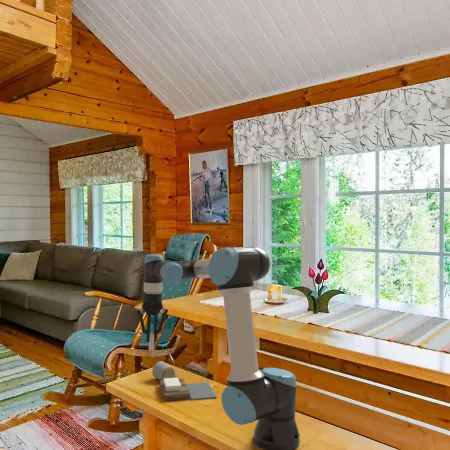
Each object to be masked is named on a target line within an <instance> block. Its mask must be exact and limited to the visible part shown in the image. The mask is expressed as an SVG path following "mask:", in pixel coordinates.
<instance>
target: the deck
mask: <svg viewBox="0 0 450 450" xmlns="http://www.w3.org/2000/svg"><path fill="white" fill-rule="evenodd" d="M178 380H179V382H180V384H181V390H178V391H166V389H165V386H164V383H163V380H159V389H160V391H161V393H162V397H163V400H164V402H173V401H183V400H184V401H186V400H191V398H190V392H189V390H188V388H187V386H186V384H187V383H186V382H185V380H184V378H178Z"/></svg>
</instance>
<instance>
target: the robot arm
mask: <svg viewBox="0 0 450 450" xmlns="http://www.w3.org/2000/svg"><path fill="white" fill-rule="evenodd" d="M270 269H271V260H270V257H269V255H268V253H267V252H266V251H264V250H263V249H262V248H259V247H256V246H228V247H223V248H221V247H220V248H219V249H217V250H215V251H214V252H213V253H212V256H211V257H210V258H202V259H195V260H191V259H190V260H177V261H176V260H175V261H165V260H164V256H163V255H162V254H160V253H159V254H157V253H155V254H154V253H152V254H151V253H149V254H146V255H145V256H144V262H143V292H144V293H143V294H142V295H143V298H142V299H143V300H142V304H141V307H139V308H137V309H136V310H135V311H136V313H137V314H138V317H139V321H140V326H141V327H140V328H141V331H142V334H146V336H145V337H146V342H147V343H148V351H149V352H150V351H152V352H153V351H154V350H155V349H154V348H155V343H156V342H157V339H158V334H160V333H162V330H163V326H164V323H165V320H166V315H167V314H168V312H169V310H168V308H167V307H164V304H163V293H162V292H163V282H164V281H165V282H167V283H177V282H178V281H182V280H183V281H184V280H194V279H195V280H197V279H198V280H199V279H210V280H211V282H212V283H213V284H215V285H216V286H217V291H218V293H220V294H221V295H222V297H223V304H224V314H225V324H226V333H227V343H228V351H229V352H228V353H229V354H228V355H229V361H230V371H231V372H230V374H229V375H228V376H227V378H226V379H227V386H226V387H225V388H224V389H223V391H222V393H221V398H220V400H221V404H222V409H223V411H224V413H225V414H226V416H227V417H228V418H229V420H230V421H232V423H234V424H237V425H240V426H243V425H248V424H251V423H254V422H256V425H255V427H254V431H253V441H254V443H255V444H256V445H257V446H259V447H261V448H262V449H265V450H295V449H296V448H298V446H299V445H300V441H301V440H300V439H301V437H300V432H299V431H300V430H299V428H298V425H297V421H296V403H297V402H296V399H297V377H296V375H295V374H294V373H293V372H291V371H289V370H286V369H281V368H278V367H264V368H262V369H261V370H260V369H259V364H258V363H259V361H258V354H257V346H256V345H257V343H256V337H255V327H254V319H253V309H252V301H251V300H252V299H251V292H252V290H253V289H254V287H255V286H254V282H257V281H260V280H262V279H263V278H265V277H266V276H267V274H268V273H269V272H270ZM143 311H144V312H145V315H146V326H145V322H144V318H143V317H144V316H143V313H144V312H143ZM160 312H162V313H161V316H160V320H159V324H158V315H159V313H160ZM152 316H153V331H152V332H151V320H152V319H151V318H152ZM145 327H146V328H145Z"/></svg>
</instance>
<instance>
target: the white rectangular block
mask: <svg viewBox="0 0 450 450" xmlns="http://www.w3.org/2000/svg"><path fill="white" fill-rule="evenodd" d="M178 379H179V378H178V377H177V378H164V379H163V383H164V386H165V389H166V391H178V390H181V384H180V382H179V380H178Z"/></svg>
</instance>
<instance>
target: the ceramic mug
mask: <svg viewBox="0 0 450 450" xmlns="http://www.w3.org/2000/svg"><path fill="white" fill-rule="evenodd" d="M151 370H152V372H151V373H152V376H153V377H154V378H155V379H157V380H159V381H160V380H163V379H164V378H178V374H177V373H176V371H175V370H176V369H174V367H173V366H171V365H169V363H167V362H164V361H163V360H160V361H157V362H156V363H155V364H154V365H153V367H152V369H151Z"/></svg>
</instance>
